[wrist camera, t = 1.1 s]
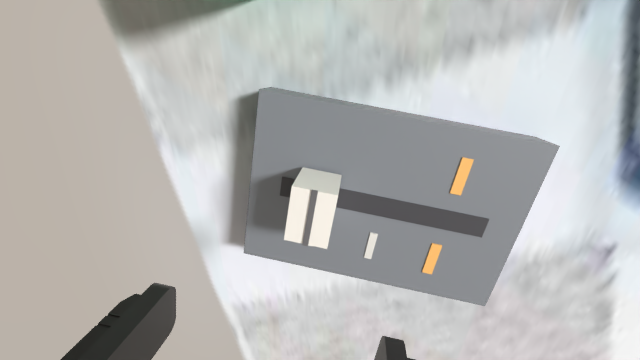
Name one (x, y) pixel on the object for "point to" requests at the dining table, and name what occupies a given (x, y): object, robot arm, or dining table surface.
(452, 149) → the fader console
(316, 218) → the fader
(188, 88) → the dining table surface
